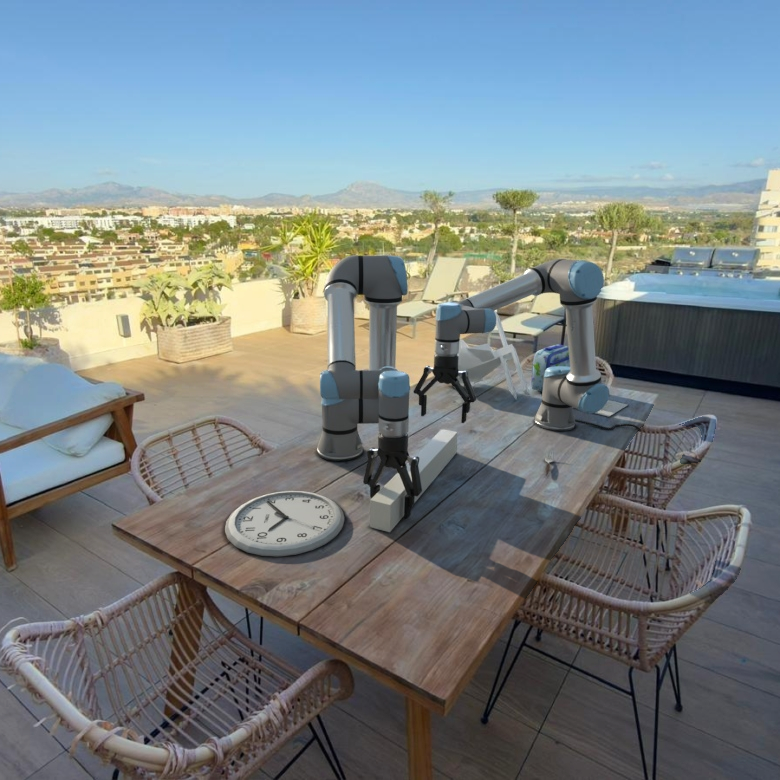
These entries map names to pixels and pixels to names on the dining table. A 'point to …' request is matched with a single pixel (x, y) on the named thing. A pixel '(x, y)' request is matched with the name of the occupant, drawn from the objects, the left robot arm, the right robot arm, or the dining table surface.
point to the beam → (392, 496)
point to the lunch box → (548, 363)
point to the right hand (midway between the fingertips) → (443, 418)
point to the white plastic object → (489, 361)
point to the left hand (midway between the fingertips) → (391, 512)
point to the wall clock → (284, 523)
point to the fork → (548, 462)
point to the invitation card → (611, 408)
